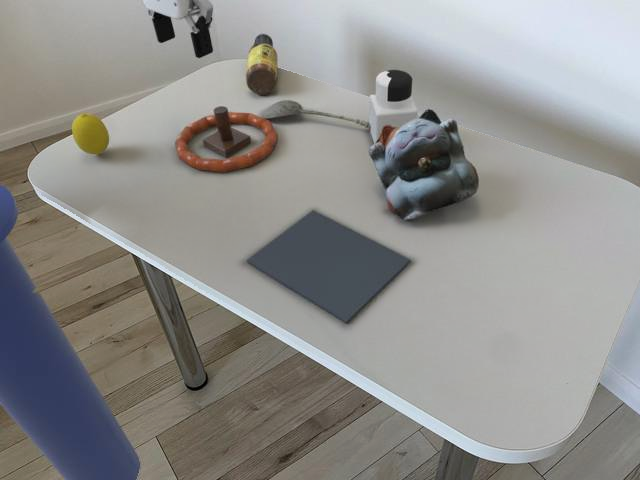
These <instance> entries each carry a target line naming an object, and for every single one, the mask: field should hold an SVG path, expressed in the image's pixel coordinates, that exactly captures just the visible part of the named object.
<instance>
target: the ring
mask: <svg viewBox="0 0 640 480" xmlns="http://www.w3.org/2000/svg"><path fill="white" fill-rule="evenodd" d="M228 113H229V118H230V124H241V125H250V126H252V127H255V128H257V129H259V130H262V132H263V134H264V136H265V137H264V140H263V141H262V144H261V145H259V146H258V147H256V148H254V149H253V150H251V151H249V153H247V154H242V155H238V156H234V157H228V158H225V159H221V158H207V157H206V158H205V157H201V156H199V155H197V154H195V153H193V152H191V151H190V148H189V146H188V145H189V143H190V142H191V140H192V139H193V137H194V136H196V135H197V134H199V133H201V132H203V131H205V130H206V129H208V128H212V127H217V125H216V120H215V115H214V114H211V115H206V116H205V115H204V116H203V117H201V118H199V119H198V120H196V121H193V122H191V123H189V124H188V125H186V126H184V128H183V129H182V131H181V132H180V133H179V134H178V136H177V138H176V139H175V141H174V146H175V150H176V152H177V156H178V159H179V160H180V161H182V162H183V163H185V164H187V165H189V166H191V167H192V168H194V169H196V170H198V171H208V172H223V173H226V172H230V171H234V170H239V169H244V168H248V167H252V166H254V165H255V164H256V163H258V162H260V161H261V160H263V159H264V158H267V157H268V156H270V154H271V153H272V152H273V149H274V148H275V145H276V142H277V141H278V138H279V136H278V133H277V132H276V129H275V128H274V126H273V124H272V122H271V121H270V120H268V119H265V118H263V117H262V116H259V115H256V114H254V113H251V112H238V111H237V112H236V111H228Z"/></svg>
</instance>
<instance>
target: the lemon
mask: <svg viewBox="0 0 640 480" xmlns="http://www.w3.org/2000/svg"><path fill="white" fill-rule="evenodd" d="M71 133H72V137H73V140H74V142H75V144H76V146H77V147H78V148H79V149H80V150H81V151H83V152H84V153H86V154H89V155H96V156H100V155H101V154H102V153H104V151H106V149H107V148H108V146H109V144H110V135H109V134H110V133H109V130H108V129H107V127H106V125H105V123H104V122H103V121H102V119H100V117H98V116H97V115H95V114H92V113H85V112H82V113H80V115H78V116H76V117H75V118H74V120H73V122H72V124H71Z"/></svg>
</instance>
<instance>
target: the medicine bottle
mask: <svg viewBox="0 0 640 480" xmlns="http://www.w3.org/2000/svg"><path fill="white" fill-rule="evenodd" d="M412 93H413V77H412V76H411V74H410V73H408V72H406V71H404V70H400V69H388V70H385V71H382V72H380V73H379V74H378V75H377V76H376V78H375V94H370V95H369V124H371V128H370V131H369V132H370V136H371V138H372V141H373V144H374V143H375V142H376V141H377V140H378V139H379V137H380V134H381V132H382V127H383V126H385V125H391V126H393V127H397V128H398V127H399V126H400V125H402V124H404V123H406V122H408V121H409V120H411V119H417V118H419V117H418V115H419V110H418V108H417V106H416V104H415V101H414V99H413V97H412Z"/></svg>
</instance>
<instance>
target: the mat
mask: <svg viewBox="0 0 640 480" xmlns="http://www.w3.org/2000/svg"><path fill="white" fill-rule="evenodd" d="M246 263H247V264H248V265H250V266H253V267H254V268H255V269H257V270H259V271H260V272H262V273H263V274H264V275H267V276H268V277H270V278H271V279H273V280H275V281H276V282H278V283H279V284H281V285H283V286H285V287H286V288H288V289H289V290H291V291H293V292H294V293H296V294H297V295H299V296H301V297H303V298H304V299H306V300H307V301H309V302H311V303H312V304H314V305H316V306H317V307H319V308H320V309H322V310H324V311H325V312H327V313H328V314H331V316H334V317H335V318H337V319H339V320H340V321H342V322H343V323H345V324H348V323H349V322H350V321H351V320H352V319H353V318H355V317H356V316H357V315H358V314H359V313H360V312H361V310H363V309H364V308H365V307H366V306H367V305H368V304H369V303H370V302H371V301H372V300H373V299H374V298H375V297H376V296H378V294H379V293H380V292H382V291H383V289H385V288H386V287H387V285H388V284H389V283H391V282H392V280H394V278H396V277H397V276H398V275H399V274H400V273H401V272H402V271H403V270H404V269H405V268H406V267H407V266H408V265H409V264H411V259H410V258H408V257H406V256H404V255H402V254H400V253H398V252H396V251H395V250H393V249H390V248H388V247H387V246H384V244H381V243H379V242H377V241H375V240H373V239H371V238H369V237H367V236H365V235H363V234H361V233H359V232H357V231H355V230H353V229H352V228H349V227H347V226H345V225H343V224H342V223H340V222H337V221H336V220H334V219H332V218H330V217H328V216H326V215H324V214H323V213H320V212H318V211H317V210H313V209H312V210H311V211H309V212H308V213H307V214H306V215H304V216H303V217H302V218H301V219H298V221H296V222H295V223H294V224H293V225H291V226H290V227H288V228H287V229H286V230H284V231H283V232H282V233H280V234H279V235H278V236H276V237H275V238H274V239H272V240H271V241H270V242H268V243H267V244H265V245H264V246H263V247H262V248H261V249H259V250H258V251H257V252H255V253H254V254H252V255H251V256H250V257H248V258H247V259H246Z"/></svg>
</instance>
